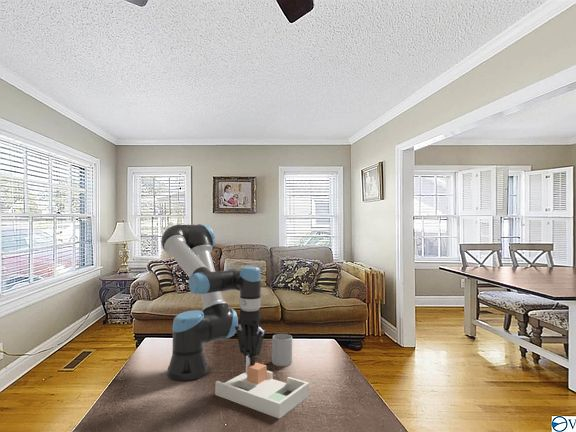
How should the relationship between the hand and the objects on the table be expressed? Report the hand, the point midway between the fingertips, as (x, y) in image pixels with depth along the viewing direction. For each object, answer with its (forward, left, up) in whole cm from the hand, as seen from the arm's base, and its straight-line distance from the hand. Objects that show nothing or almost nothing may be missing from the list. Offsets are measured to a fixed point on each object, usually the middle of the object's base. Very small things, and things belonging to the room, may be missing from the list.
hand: (249, 373), depth 135 cm
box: (+9, -4, -4) cm, 11 cm away
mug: (-3, +26, -4) cm, 27 cm away
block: (+3, 0, -2) cm, 4 cm away
